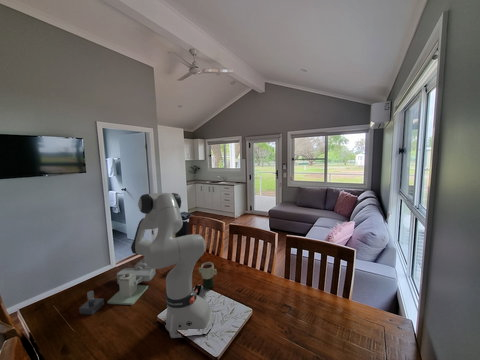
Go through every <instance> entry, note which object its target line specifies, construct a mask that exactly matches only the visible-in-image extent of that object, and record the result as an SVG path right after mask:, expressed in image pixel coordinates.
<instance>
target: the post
mask: <svg viewBox="0 0 480 360" xmlns="http://www.w3.org/2000/svg"><path fill="white" fill-rule="evenodd" d="M86 295H87V296H86V297H87V301H86V302H84V303H83V304H82V305H81V306H80V307H78V309H79V314H80V315H91V316H93V315H94V314H95V313H97V312H98V311H99V310H100V309H101V307H103V306H104V305H105V299H104V298H98V297H95V292H94V290H89V291H87V292H86Z"/></svg>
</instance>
